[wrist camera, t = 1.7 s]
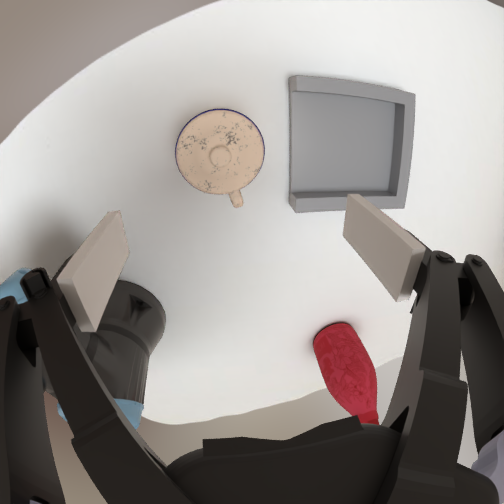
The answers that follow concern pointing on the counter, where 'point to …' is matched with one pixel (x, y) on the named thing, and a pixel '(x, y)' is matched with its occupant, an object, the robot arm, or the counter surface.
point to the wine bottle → (348, 371)
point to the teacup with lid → (220, 152)
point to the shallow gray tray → (348, 143)
